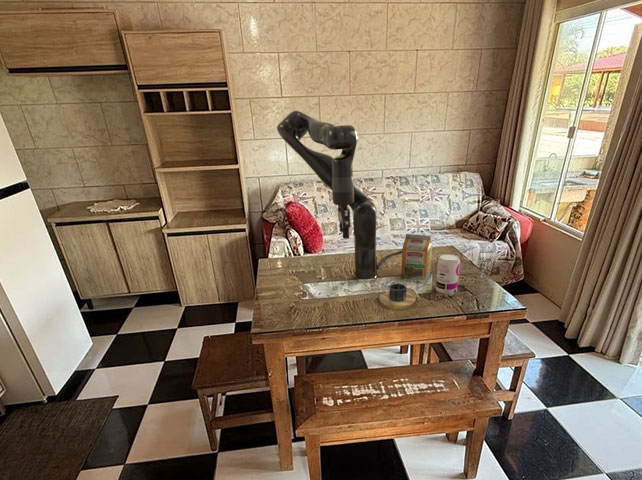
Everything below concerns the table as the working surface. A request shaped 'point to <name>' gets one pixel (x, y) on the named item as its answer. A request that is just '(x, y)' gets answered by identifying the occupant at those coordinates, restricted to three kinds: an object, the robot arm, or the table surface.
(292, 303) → the table surface
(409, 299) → the turntable
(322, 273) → the table surface
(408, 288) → the dark grey basket
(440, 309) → the table surface
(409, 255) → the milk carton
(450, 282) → the supplement can
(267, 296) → the table surface
